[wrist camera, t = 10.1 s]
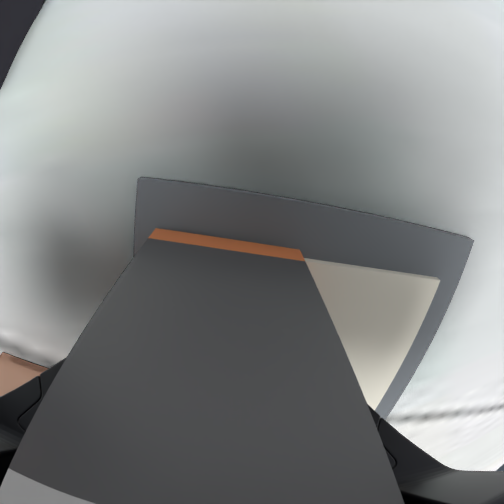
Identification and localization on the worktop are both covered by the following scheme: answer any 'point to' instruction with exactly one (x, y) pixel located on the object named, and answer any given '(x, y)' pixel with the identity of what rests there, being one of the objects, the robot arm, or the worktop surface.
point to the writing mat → (334, 268)
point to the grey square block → (205, 391)
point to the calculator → (14, 29)
